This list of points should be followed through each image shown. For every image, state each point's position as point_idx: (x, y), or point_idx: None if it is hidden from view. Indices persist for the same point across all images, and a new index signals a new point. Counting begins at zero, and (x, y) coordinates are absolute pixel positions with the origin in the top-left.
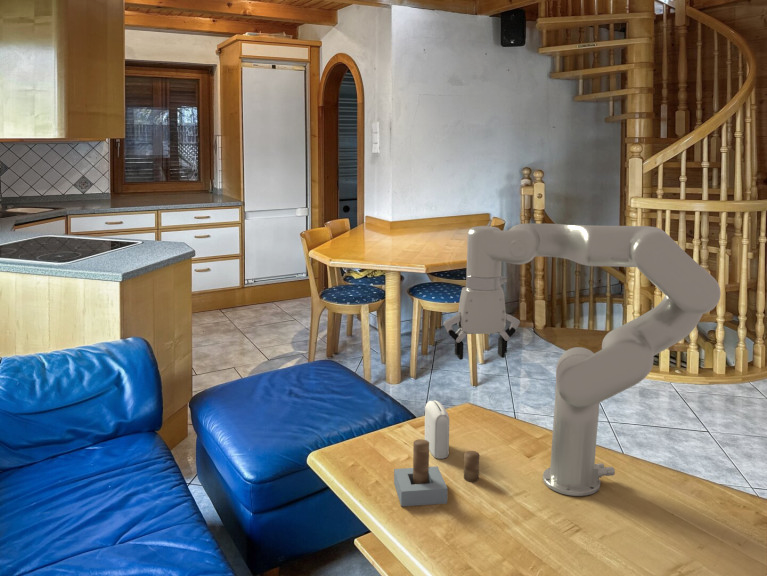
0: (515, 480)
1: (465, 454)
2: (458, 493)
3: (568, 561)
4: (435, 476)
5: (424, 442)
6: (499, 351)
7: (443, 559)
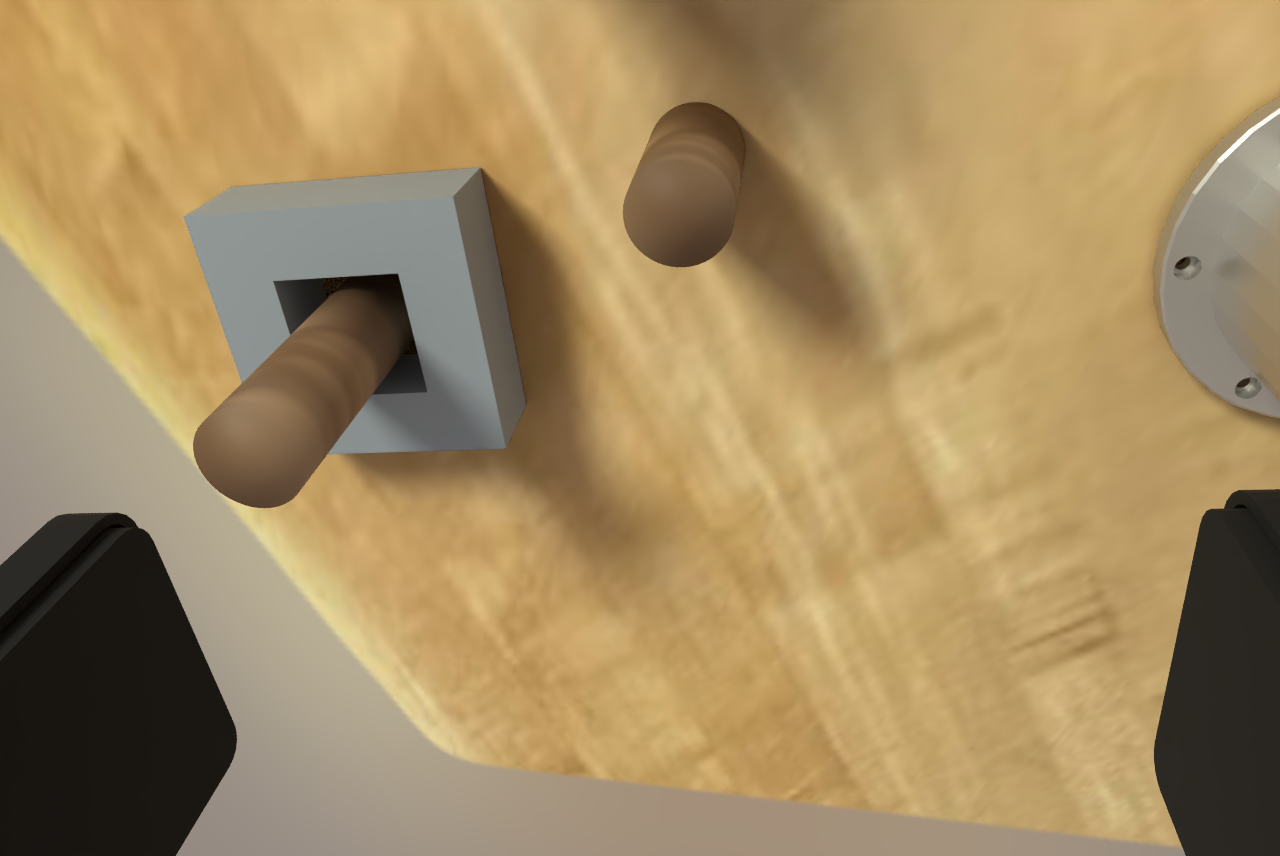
0: (981, 193)
1: (630, 208)
2: (594, 317)
3: (944, 787)
4: (440, 323)
5: (269, 457)
6: (1220, 703)
7: (492, 727)
